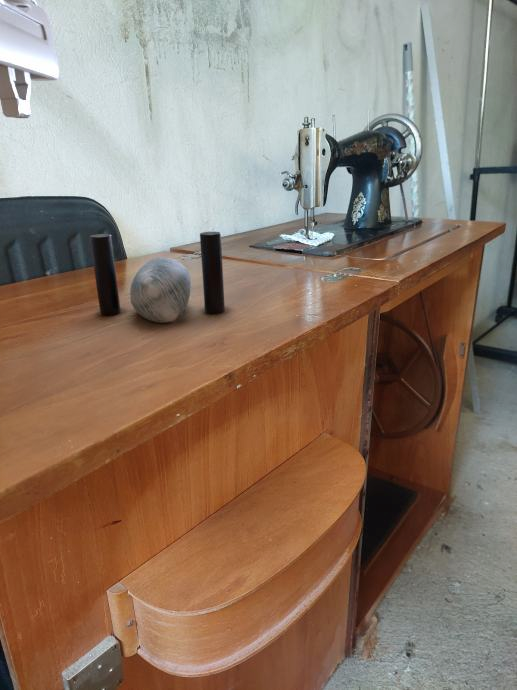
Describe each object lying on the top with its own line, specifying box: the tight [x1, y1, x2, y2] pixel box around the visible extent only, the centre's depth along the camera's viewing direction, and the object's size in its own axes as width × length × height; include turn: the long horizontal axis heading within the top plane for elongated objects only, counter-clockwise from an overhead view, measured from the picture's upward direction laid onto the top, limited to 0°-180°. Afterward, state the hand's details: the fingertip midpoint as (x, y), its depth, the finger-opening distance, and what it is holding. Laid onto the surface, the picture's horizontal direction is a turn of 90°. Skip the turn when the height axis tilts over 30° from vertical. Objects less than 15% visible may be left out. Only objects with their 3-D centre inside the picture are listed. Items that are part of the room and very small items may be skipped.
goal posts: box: [89, 231, 226, 317], centre depth 77 cm, size 19×3×12 cm, turn 88°
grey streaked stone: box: [129, 257, 192, 324], centre depth 77 cm, size 14×10×10 cm
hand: (17, 117), depth 57 cm, fingers closed
